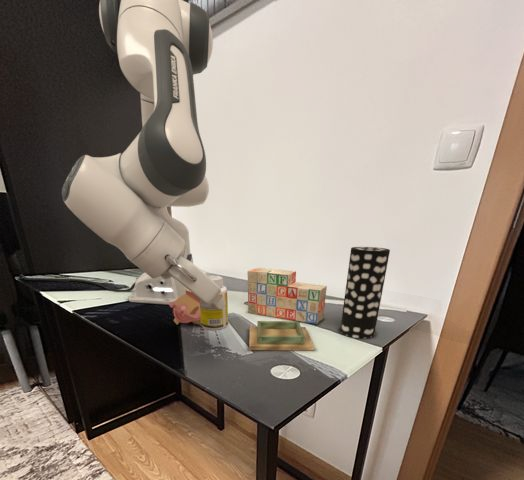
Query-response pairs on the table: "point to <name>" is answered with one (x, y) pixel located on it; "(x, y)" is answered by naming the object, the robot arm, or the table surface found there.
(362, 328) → the spotted tube
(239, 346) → the table surface
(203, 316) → the supplement bottle
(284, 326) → the wooden board green frame
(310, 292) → the stack of blocks
